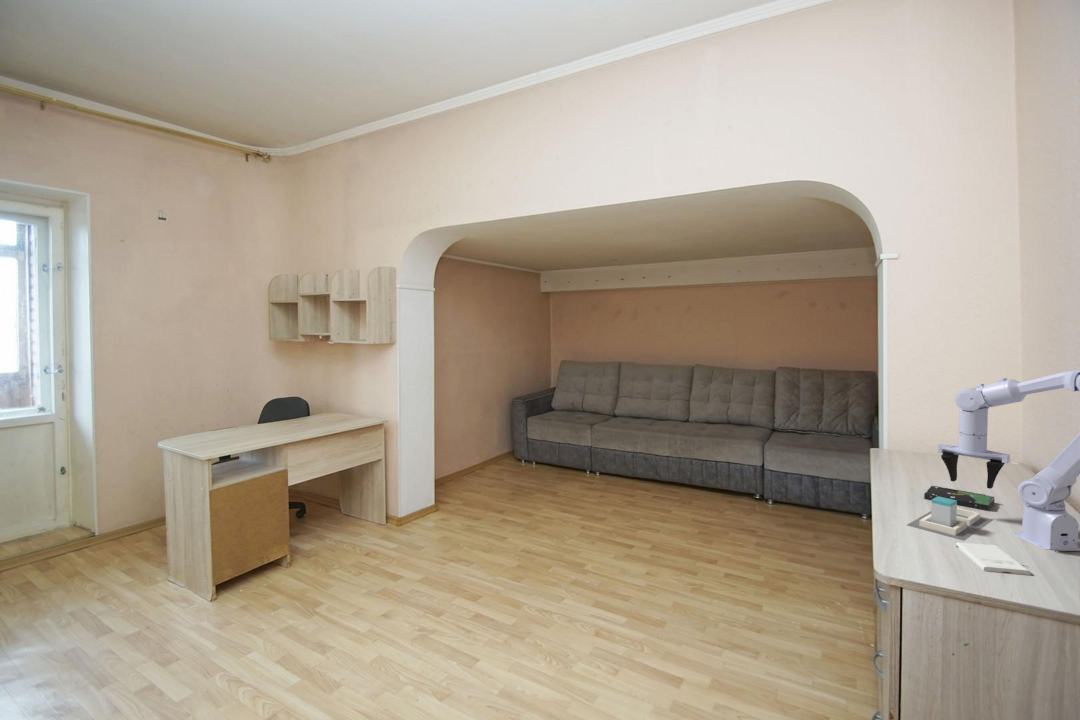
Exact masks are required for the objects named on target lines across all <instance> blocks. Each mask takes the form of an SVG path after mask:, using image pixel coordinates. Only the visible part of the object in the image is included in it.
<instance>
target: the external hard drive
mask: <svg viewBox="0 0 1080 720" xmlns="http://www.w3.org/2000/svg"><path fill="white" fill-rule="evenodd" d="M955 546H956V548H957V549H958V550H960V552H962V553H963V554H964V555H965V556H966V557H967V558H968V559H969V560H971V561H972V562H973V563H974V564H975V565H977V567H978V568H980V570H982V572H983V571H984V572H991V573H992V572H993V573H1008V574H1011V575H1012V574H1014V575H1015V574H1017V575H1024V576H1031V571H1030V570H1029V569H1028V568H1026V567H1025V566H1024V565H1023V564H1022V563H1020V562H1019V561H1017V560H1016V559H1015V558H1013V556H1011V555H1010V554H1008V553H1007V552H1006V551H1005V550H1003V549H1002V548H1001V547H999V546H998V545H993V544H983V543H973V542H971V543H970V542H961V541H960V542H956V543H955Z"/></svg>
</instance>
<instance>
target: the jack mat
mask: <svg viewBox="0 0 1080 720" xmlns="http://www.w3.org/2000/svg"><path fill="white" fill-rule="evenodd" d="M929 514H931V510H930V511H928V512H927V513H925V514H923V515H922V516H920V517H918V518H917V519H914V520H913V521H910V522H909V523H907V524H906V526H907V527H912V528H916V529H919V530H923V531H925V532H931V533H932V534H933V533H935V534H938V535H941V536H944V537H945V536H946V537H949V538H953V539H957V540H959V541H965V540H967V539H968V538H970V537H972V535H974V534H975V533H977V532H978V531H979V530H980V529H982V528H984V527H986V526H987V524H989V523H991V522H992V521H994V519H992V518H990V517H983V516H980V519H979V520H978V521H976V522H975V523H973V524H972V525H970V526H968V525H967V528H966V529H964V530H963V531H961V532H960V533H958V534H957V535H952V534H948V533H944V532H940V531H937V530H933V529H929V528H925V527H922V526H919V520H921V519H923V518H924V517H926V516H928V515H929ZM956 516H959V517H963V518H969V517H967V516H962V515H958V514H956Z"/></svg>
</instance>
